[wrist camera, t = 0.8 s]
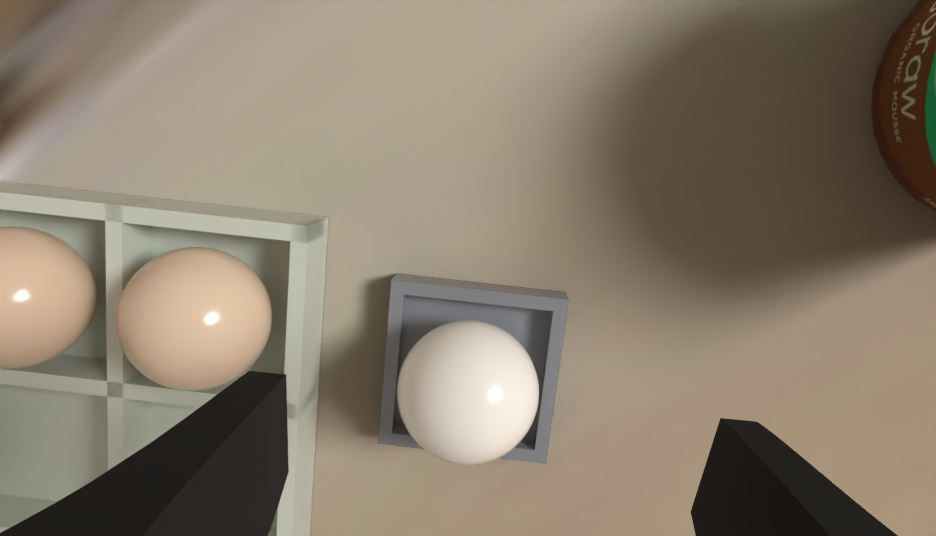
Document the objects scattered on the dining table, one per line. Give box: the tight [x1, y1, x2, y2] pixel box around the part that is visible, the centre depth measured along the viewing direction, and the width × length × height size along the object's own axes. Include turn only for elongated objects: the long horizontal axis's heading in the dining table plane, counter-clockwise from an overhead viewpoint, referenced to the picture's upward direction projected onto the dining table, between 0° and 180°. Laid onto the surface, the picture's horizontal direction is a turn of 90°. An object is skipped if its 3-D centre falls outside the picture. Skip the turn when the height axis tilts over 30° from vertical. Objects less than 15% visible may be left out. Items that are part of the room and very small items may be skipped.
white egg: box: [397, 320, 539, 465], centre depth 22 cm, size 5×5×5 cm
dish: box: [378, 273, 569, 464], centre depth 25 cm, size 7×7×1 cm
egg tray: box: [0, 181, 329, 536], centre depth 25 cm, size 20×14×3 cm
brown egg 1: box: [0, 226, 97, 369], centre depth 22 cm, size 5×5×5 cm
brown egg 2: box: [116, 247, 272, 391], centre depth 22 cm, size 5×5×5 cm
